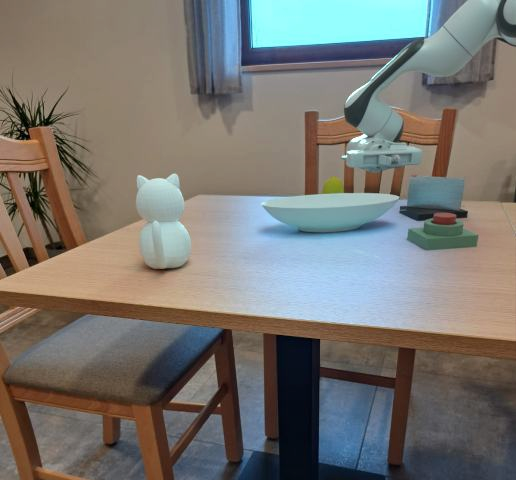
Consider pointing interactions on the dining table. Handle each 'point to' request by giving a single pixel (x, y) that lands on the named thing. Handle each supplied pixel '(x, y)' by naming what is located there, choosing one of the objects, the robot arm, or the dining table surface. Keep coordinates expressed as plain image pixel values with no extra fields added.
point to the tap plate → (429, 213)
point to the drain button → (444, 218)
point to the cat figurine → (162, 223)
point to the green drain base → (442, 236)
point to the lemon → (333, 186)
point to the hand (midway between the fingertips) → (394, 161)
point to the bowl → (330, 210)
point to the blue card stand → (435, 192)
